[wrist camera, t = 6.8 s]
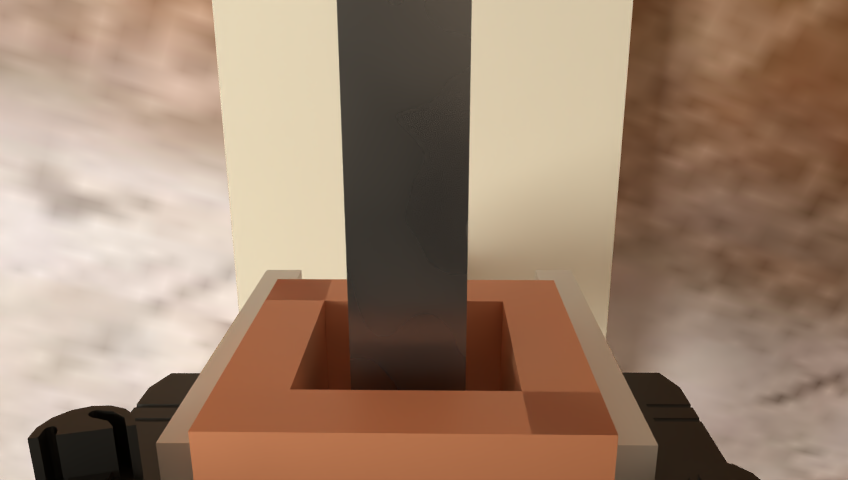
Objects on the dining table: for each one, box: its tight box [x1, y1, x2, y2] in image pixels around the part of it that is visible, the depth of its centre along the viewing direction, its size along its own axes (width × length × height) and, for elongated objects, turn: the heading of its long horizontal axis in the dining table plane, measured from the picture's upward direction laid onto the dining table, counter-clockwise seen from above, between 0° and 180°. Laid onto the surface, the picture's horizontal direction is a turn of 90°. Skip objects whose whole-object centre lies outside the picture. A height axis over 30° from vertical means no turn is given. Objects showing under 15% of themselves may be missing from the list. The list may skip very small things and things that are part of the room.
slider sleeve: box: [188, 279, 618, 480], centre depth 14 cm, size 4×5×10 cm
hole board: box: [212, 0, 633, 339], centre depth 19 cm, size 27×10×2 cm, turn 0°
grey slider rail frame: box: [337, 0, 472, 391], centre depth 14 cm, size 24×2×9 cm, turn 0°
